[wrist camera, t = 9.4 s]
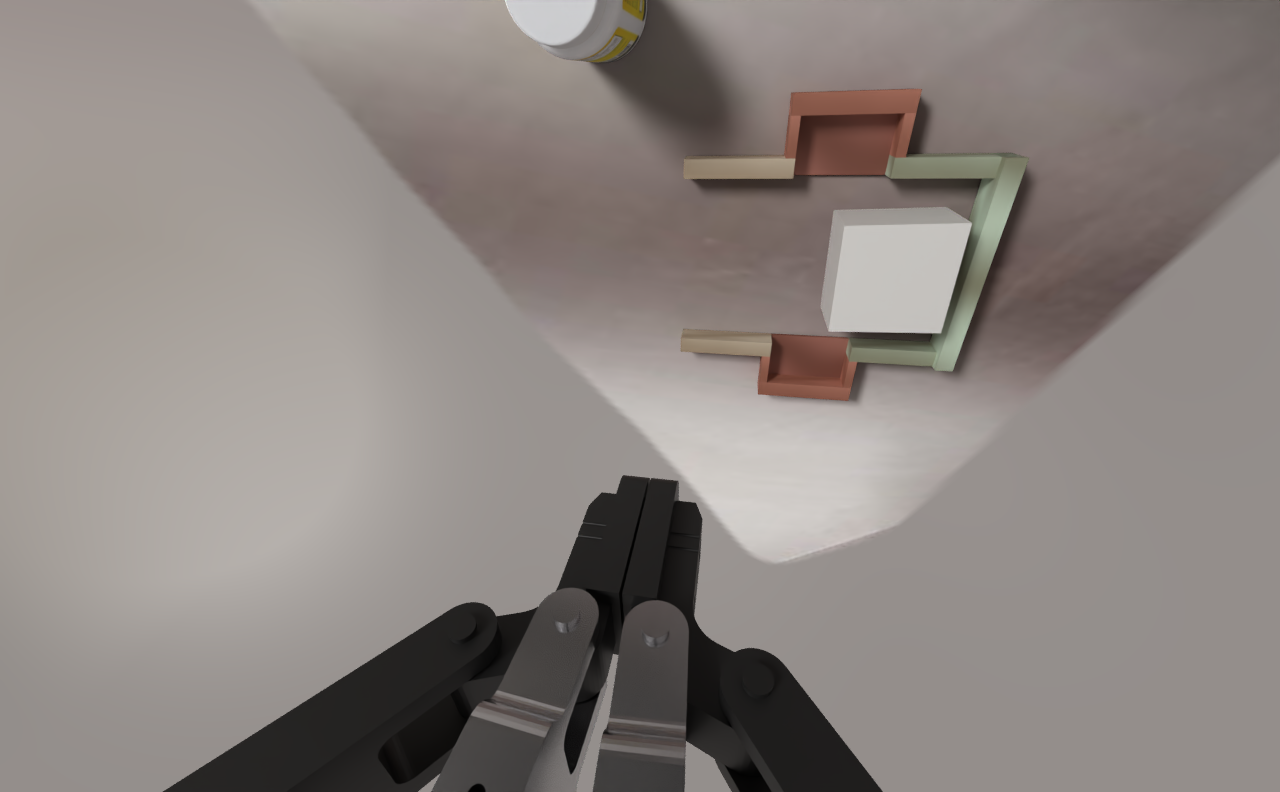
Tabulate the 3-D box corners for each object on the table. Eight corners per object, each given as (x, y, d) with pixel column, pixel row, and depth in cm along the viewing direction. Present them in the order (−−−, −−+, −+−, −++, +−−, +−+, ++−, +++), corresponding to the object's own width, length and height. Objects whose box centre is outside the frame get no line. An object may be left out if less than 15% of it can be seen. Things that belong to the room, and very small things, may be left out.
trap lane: (687, 95, 27) (683, 96, 25) (1034, 85, 24) (1055, 85, 22) (682, 378, 37) (679, 392, 35) (928, 395, 34) (938, 411, 32)
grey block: (833, 209, 29) (844, 225, 25) (945, 206, 28) (972, 223, 24) (820, 305, 32) (828, 331, 29) (920, 306, 31) (940, 333, 27)
